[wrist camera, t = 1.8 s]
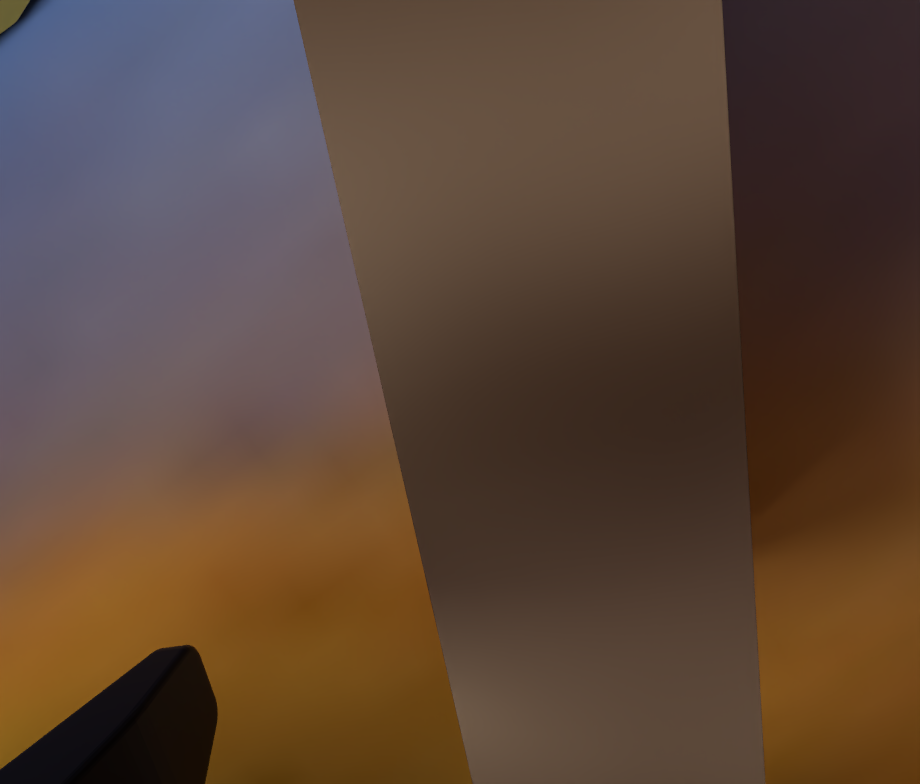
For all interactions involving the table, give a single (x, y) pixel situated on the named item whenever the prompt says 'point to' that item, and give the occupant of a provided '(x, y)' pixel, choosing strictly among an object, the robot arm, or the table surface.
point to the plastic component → (10, 12)
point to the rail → (559, 367)
